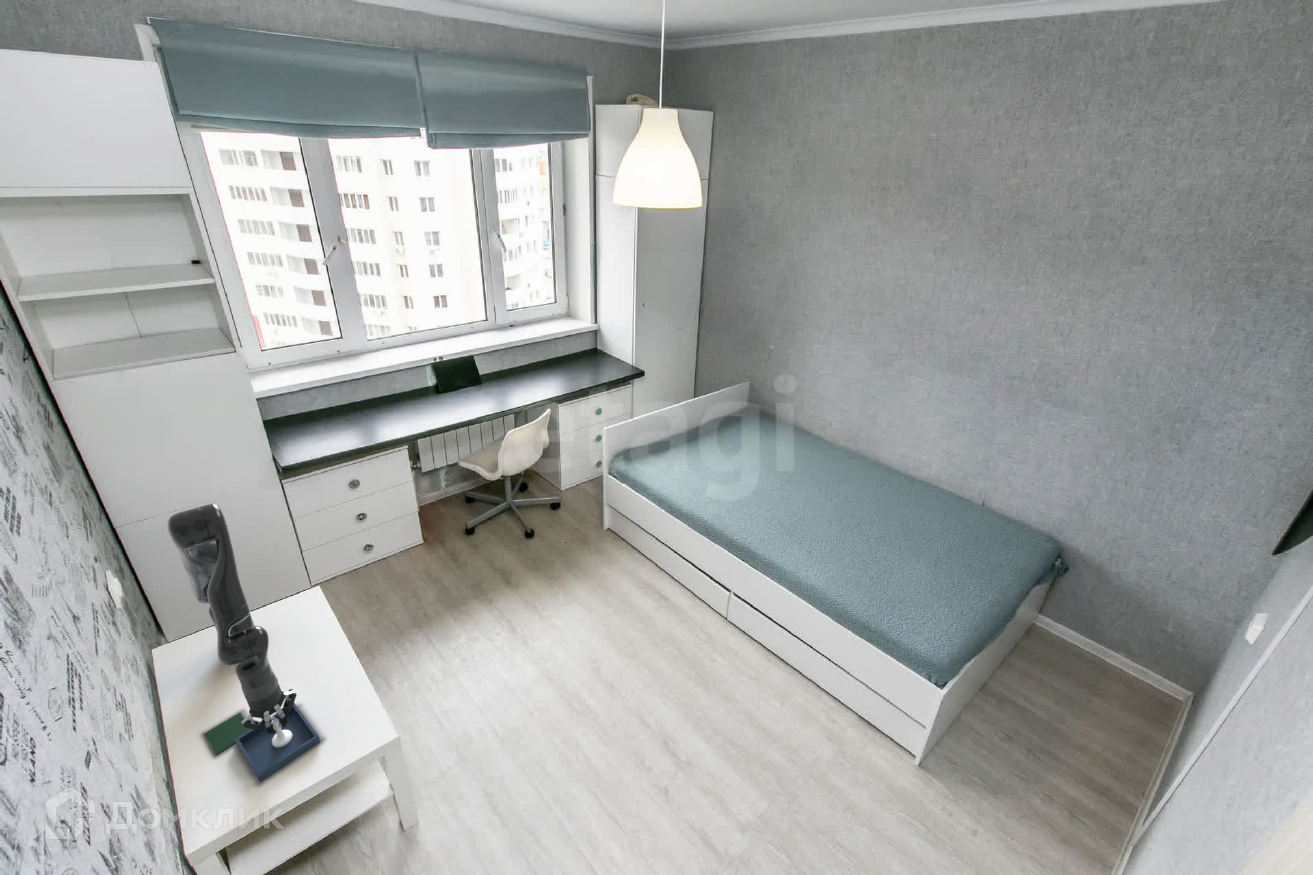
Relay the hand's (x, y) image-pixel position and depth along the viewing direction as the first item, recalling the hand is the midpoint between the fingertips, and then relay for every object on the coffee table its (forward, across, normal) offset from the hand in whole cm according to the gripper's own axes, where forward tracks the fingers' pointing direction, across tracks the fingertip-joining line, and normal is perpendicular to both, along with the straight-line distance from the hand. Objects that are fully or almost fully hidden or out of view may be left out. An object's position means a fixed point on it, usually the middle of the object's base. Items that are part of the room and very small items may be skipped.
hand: (277, 728), depth 164 cm
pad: (+6, +9, -13) cm, 17 cm away
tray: (+6, +1, 0) cm, 6 cm away
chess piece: (+5, 0, 0) cm, 5 cm away
